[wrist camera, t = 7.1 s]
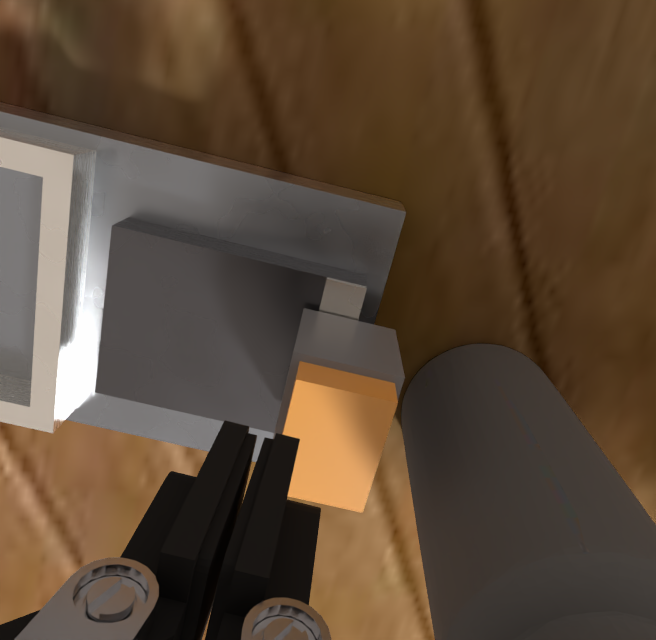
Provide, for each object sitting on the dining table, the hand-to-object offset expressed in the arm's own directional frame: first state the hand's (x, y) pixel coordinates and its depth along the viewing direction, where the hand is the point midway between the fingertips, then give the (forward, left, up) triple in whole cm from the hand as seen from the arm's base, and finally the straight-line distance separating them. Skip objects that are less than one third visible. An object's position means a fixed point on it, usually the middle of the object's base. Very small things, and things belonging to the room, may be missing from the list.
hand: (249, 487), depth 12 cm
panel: (+7, 0, -9) cm, 12 cm away
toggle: (-2, 0, -6) cm, 6 cm away
